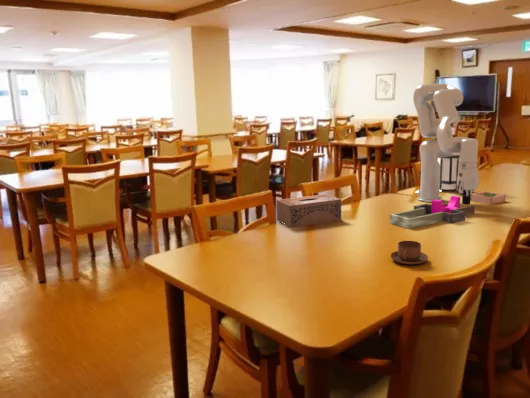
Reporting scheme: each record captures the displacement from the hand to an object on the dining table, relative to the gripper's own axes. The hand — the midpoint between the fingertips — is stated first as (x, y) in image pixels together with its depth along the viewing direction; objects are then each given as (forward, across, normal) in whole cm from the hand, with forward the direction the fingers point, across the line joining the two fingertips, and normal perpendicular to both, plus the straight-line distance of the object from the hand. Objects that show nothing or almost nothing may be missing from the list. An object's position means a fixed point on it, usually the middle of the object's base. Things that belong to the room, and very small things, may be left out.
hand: (466, 203), depth 224 cm
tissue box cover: (+4, -67, +33) cm, 75 cm away
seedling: (+4, +25, +6) cm, 26 cm away
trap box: (+4, -22, 0) cm, 22 cm away
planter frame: (+4, +28, +8) cm, 29 cm away
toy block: (+4, -11, +2) cm, 12 cm away
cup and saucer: (+4, -73, -33) cm, 80 cm away
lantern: (+4, +35, +38) cm, 51 cm away
